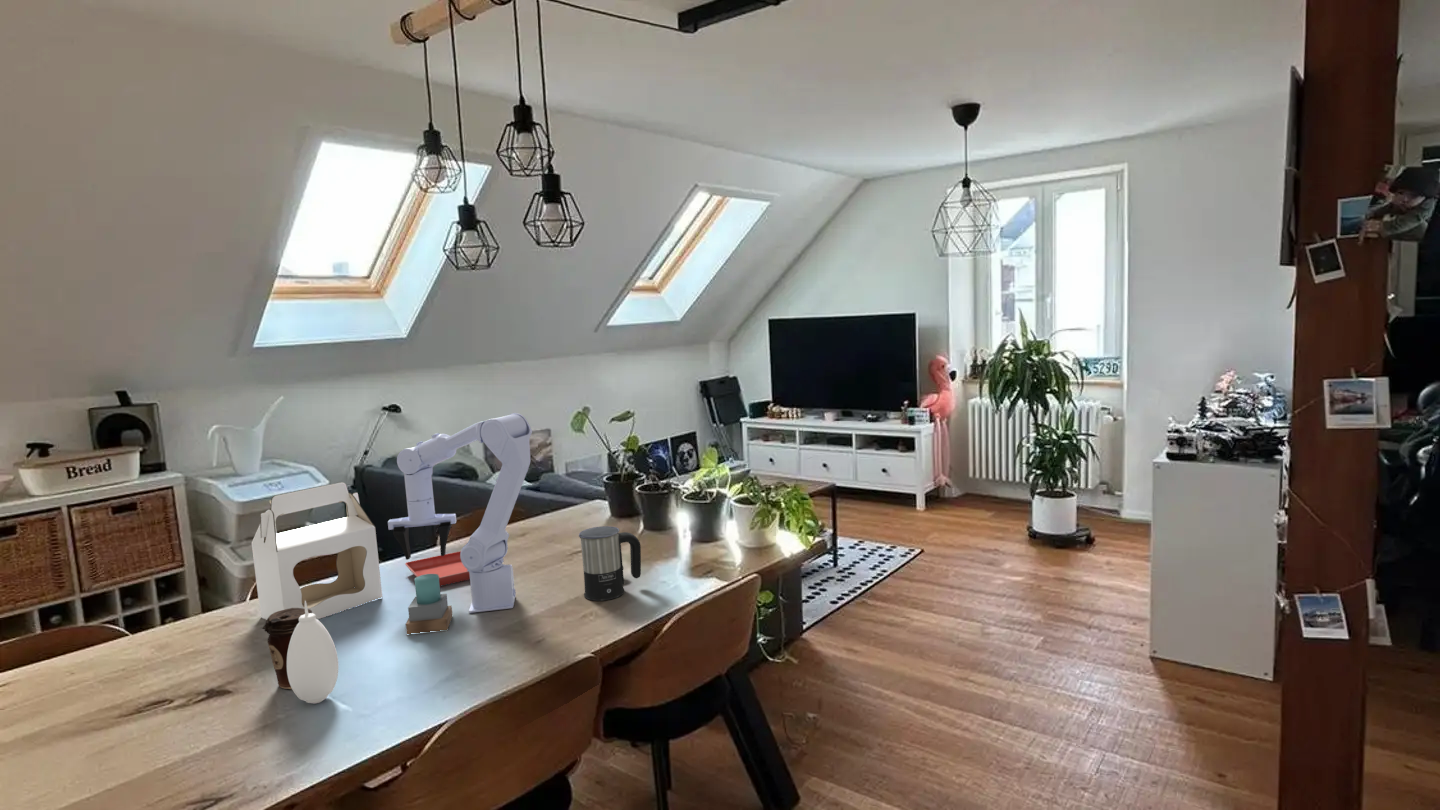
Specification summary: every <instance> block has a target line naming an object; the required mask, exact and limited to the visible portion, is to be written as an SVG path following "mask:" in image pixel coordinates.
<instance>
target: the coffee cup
mask: <svg viewBox="0 0 1440 810" xmlns="http://www.w3.org/2000/svg"><path fill="white" fill-rule="evenodd" d="M308 613H312V611H311V610H310V609H308ZM304 614H305V609H303V608H289V609H285V610H281V611H277V612H275V613H273V614H271V615H270V616H269V617H268V619H267V620H266V619H265V624H264V625H263V626H262V630H264V632H266V633H267V634H268V638H267V646H268V650H269V653H270V657H271V663H272V665H273V670H274V672H275V675H276V679H277V684H278V686H279V688H282V689H284V690H292V688H291V686H290V683H289V680H288V675H287V652H288V647H289V643H290V640H291V637H292V634H293V632H294V630H295V628H296V626H297V624H298V623H299V617H300V616H301V615H304ZM316 619H317V618H316Z"/></svg>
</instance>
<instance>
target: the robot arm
mask: <svg viewBox="0 0 1440 810" xmlns="http://www.w3.org/2000/svg"><path fill="white" fill-rule="evenodd" d="M532 434H533V430H532V427H531V426H530V424H529V421H528V420H527V418H526V417H525V416H524V415H523V414H521V413H518V412H513V413H510V414H508V415H504V416H500V417H495V418H489V419H486V420H483V421H478V422H475V423H473V424H471V425H469V426H468V427H465V428H464V429H461V430H459V431H458V432H456V433H453V434H452V435H449V434H446V433H440V432H436V433H434V434H432V435H431V438H430V439H428V440H426V441H423V440H421V441H418V442H416V444H415V446H413V447H407V448H406V447H405V448H403V449H402V450H401V451H400V452H399V453H398V455H397V457H396V463H397V466H398V469H399V470H400V471H401V472H402V473H403V476H404V487H405V495H406V506H407V515H408V516H405V517H399V518H392V519H391V518H390V519H389V520H388V521H387V526H388V531H390V530H391V531H393V532H392V534H393V537H394V538H395V539H396V541H397V542H398V544H399V545H400V547H401V549H402V552H403V555H404V557H405V560H410V559H411V556H412V553H411V547H410V538H409V536H410V535H409V533H410V532H409V529H410V528H413V527H414V528H415V527H424V526H425V527H426V526H437V525H439V526H438V527H437V531H438V537H439V544H440V545H439V546H440V551H439V552H440V555H441V556H445V554H447V552H446V549H447V543H448V542H447V541H448V538H449V534H450V531H451V528H452V526H453V525H454V524H456V523H457V514H456V513H436V509H435V499H434V498H435V496H434V489H433V480H432V477H433V474H434V472H433V471H434V470H433V469H434V466H436V465H438V464H440V463H443V462H445V461H447V460H449V459H452V458H453V457H455V456H456V454H457V450H458V449H460V448H463V447H465V446H468V445H470V444H472V443H475V442H476V441H477V442H478V443H479V444H483V443H484V444H485V446H486V447H487V448H488V450H490V451H491V452H492V454H493V455H494V456H495V458H496V459H497V460H498V461H499V462H500V463H501V468H500V470H499V473H498V475H497V479H496V482H495V483H494V487H493V489H492V492H491V495H490V498H489V500H488V503H487V506H486V509H485V511H484V514H483V516H482V519H481V522H480V523H479V524H480V525H479V526H478V528H477V529H476V530H475V531H474V532H473V533H472V534H471V535H470V536H469V540H468V542H466V544H465V545H463V547H462V548H461V550H460V551H461V553H460V558H461V561H462V564H463V565H464V566H465V567H466V568H467V571H468V572H469V575H470V580H469V582H470V583H469V585H470V593H471V596H470V597H471V603H470V605H469V609H468V613H469V614H473V613H482V612H489V611H498V610H500V611H501V610H506V609H513V608H514V605H515V600H516V593H517V592H516V588H515V580H514V568H513V565H512V564H504V563H505V562H504V561H505V560H504V558H505V556H506V555H507V553H508V549H509V546H508V540H509V538H510V533H509V532H508V531H507V530H506V528H507V526H508V523H509V520H510V519H511V516H512V513H513V511H514V508H515V504H516V503H517V499H518V497H519V494H520V491H521V489H522V486H523V483H524V482H525V478H526V477H527V473H528V471H529V468H530V464H531V446H530V445H531V443H530V441H531V440H530V439H531V435H532Z"/></svg>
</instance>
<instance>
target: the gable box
mask: <svg viewBox="0 0 1440 810" xmlns="http://www.w3.org/2000/svg"><path fill="white" fill-rule="evenodd" d="M268 503H269V505H270V507H269V508H270V509H267V510H266V511H265V512H260V513H259V520H260V521H259V522H260V523H259V524H258V527H257V529H256V531H255V534H254V536H253V539H252V540H251V549H252V556H253V557H252V558H253V566H254V573H255V581H256V582H255V583H256V590H257V599H258V605H259V606H258V607H259V613H260V614H259V615H260V618H261V619H263V620H265V621H266V620H267V619H268V617H269V616H270V615H271V614H273V613H275V612H277V611H281V610H285V609H289V608H303V609H305V601H306V603H307V608H308V609H310V610H311V611H312V613H313V614H315V615H316V618H317V620H320V619H324V618H326V616H327V617H330V616H333V615H336V614H339V613H341V612H340V611H342V612H345V611H347V610H346V609H348V610H350V609H349V608H351V609H353V608H352V607H354V608H356V606H357V607H359V606H358V605H360V606H362V605H361V604H363V605H365V604H364V603H366V602H369V601H372V600H375V599H378V598H381V597H382V598H383V590H382V588H383V587H382V581H381V569H380V563H379V561H380V560H379V553H378V551H379V550H378V542H377V534H376V533H377V532H376V525H375V524H374V523H373V522H372V520H371V518H370V517H369V516H368V514H367V513H366V512H365V510H364V508H363V507H362V506H361V504H360V497H359V494H358V492H353V493H351V492H349V490H348V487H347V484H346V483H345V482H343V481H339V482H334V483H329V484H326V485H325V484H324V485H321V486H316V487H311V488H305V489H300V490H295V491H289V492H284V493H281V494H280V493H279V494H276V495H273V496H272V497H271V498H270V499H269V500H268ZM337 503H338V504H341V503H344V504H345V506H346V509H345V510H346V517H342V518H337V519H336V518H335V519H333V520H329V521H323V522H320V523H317V524H311V525H309V526H303V527H300V528H296V529H291V530H287V531H282V532H279V533H278V531H277V524H276V521H277V518H278V517H282V516H284V515H287V514H292V513H297V512H301V511H305V510H311V509H314V508H319V507H325V506H328V505H332V504H337ZM334 554H337V556H336V564H335V566H336V571H337V578H336V579H335V580H334V581H332V582H328V583H323V582H322V583H313V584H309V585H305V586H303V587H300V585H299V584H298V582H297V580H296V579H295V576H294V568H295V567H296V565H297V564H298V563H300V562H301V561H304V560H306V559H308V558H312V557H316V556H326V555H334ZM372 602H373V601H372ZM369 603H370V602H369ZM366 604H367V603H366ZM344 610H345V611H344ZM338 612H339V613H338ZM335 613H336V614H335ZM332 614H333V615H332Z"/></svg>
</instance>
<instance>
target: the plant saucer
mask: <svg viewBox="0 0 1440 810" xmlns="http://www.w3.org/2000/svg"><path fill="white" fill-rule="evenodd" d="M460 553H461V550H460V551H455V552H450V553H446V554H445V556H441V554H440V555H436V556H431V557H426V558H421V559H416V560H411V561H407V562H405V563H404V565H405V566H406V567H407V568H408V569H409V570H410V572H411V573H412V574H413V575H414V576H415V578H416V577H418V576H421V575H425V574H437V575H439V584H440V587H442V586H441V585H444V586H447V585H446V584H448V585H452V584H455V582H457V583H460V581H461V582H464V580H465V581H470V580H469V579H470V575H469V572H468V571H467V568H466V567H465V566H464V565H463V564H462V561H461V558H460ZM451 583H452V584H451Z"/></svg>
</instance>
